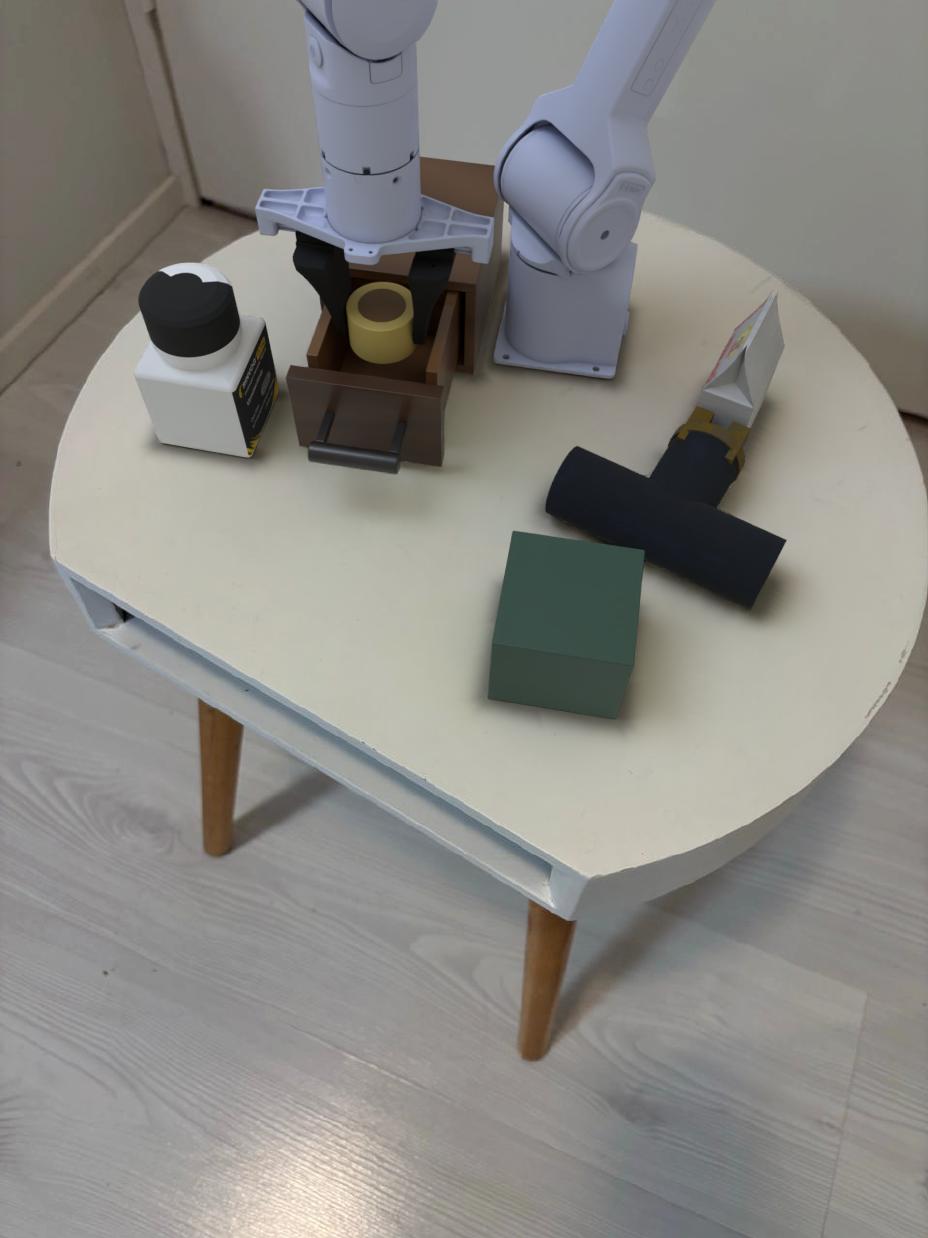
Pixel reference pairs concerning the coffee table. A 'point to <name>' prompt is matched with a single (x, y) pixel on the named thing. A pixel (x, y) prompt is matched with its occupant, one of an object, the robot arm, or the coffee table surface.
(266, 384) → the medicine bottle
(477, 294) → the cabinet
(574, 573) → the block
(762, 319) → the white juice carton
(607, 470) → the pipe connector
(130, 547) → the coffee table surface
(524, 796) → the coffee table surface
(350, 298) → the tape
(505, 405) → the coffee table surface
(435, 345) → the drawer
